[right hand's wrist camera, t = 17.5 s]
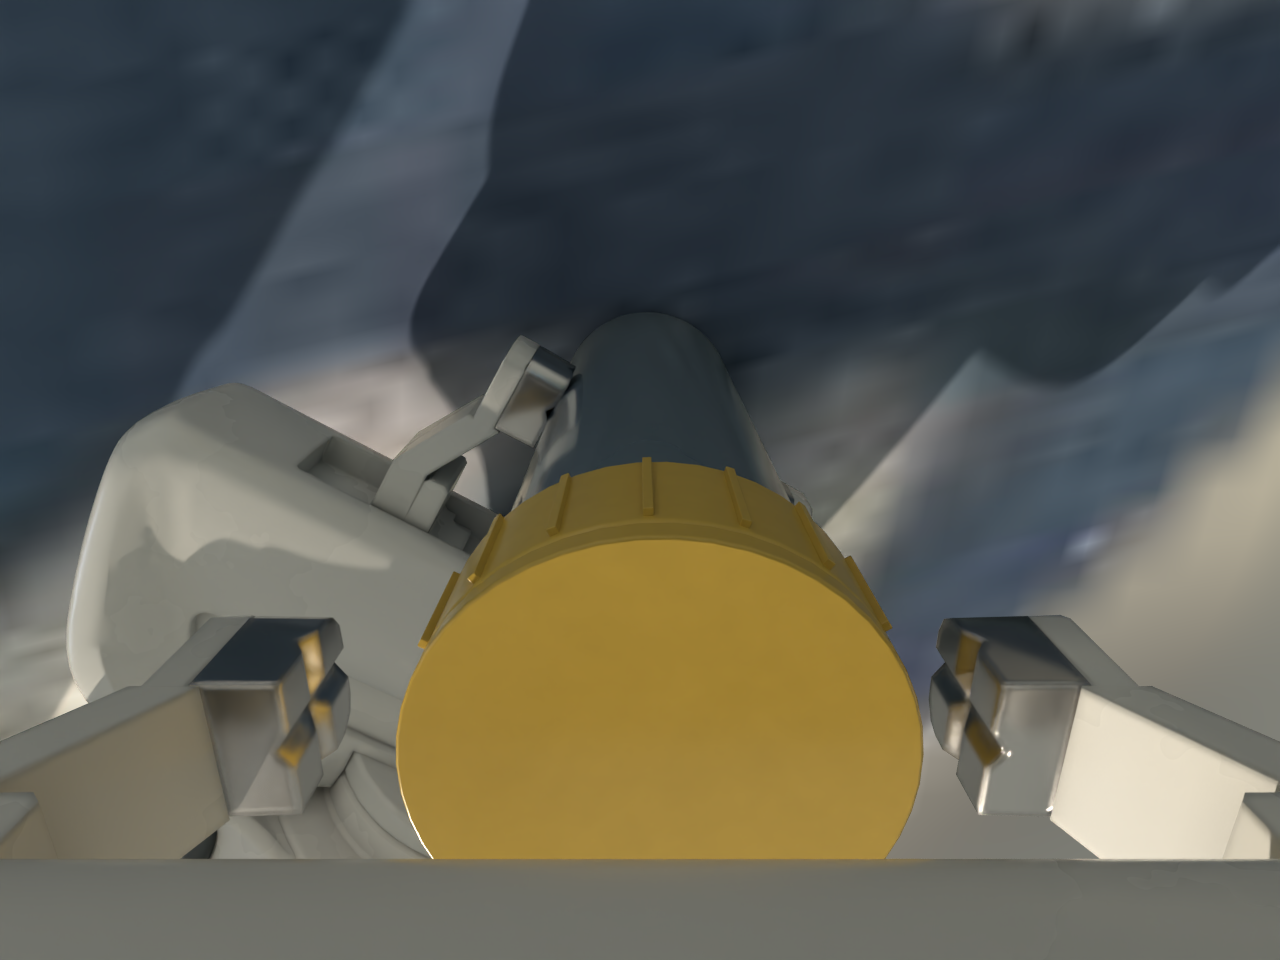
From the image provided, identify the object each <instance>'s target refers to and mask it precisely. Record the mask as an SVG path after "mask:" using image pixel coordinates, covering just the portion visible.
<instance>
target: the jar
mask: <svg viewBox="0 0 1280 960" xmlns="http://www.w3.org/2000/svg"><path fill="white" fill-rule="evenodd" d="M570 363H571V364H573V365H574V366H576V369H575V371H574V372H573V373H574V374H573V376H572V379H571V381H570V383H569V385H568V387H567V389H566V390H565V392H564V394H563V396H562V398H561V399H560V401H559V402H558V403H557V404H556V406H555V407H553V408H552V410H551V412H550V415H549V417H548V420H547V422H546V425H545V427H544V430H543V432H542V435H541V437H540V440H539V442H538V445H537V447H536V450H535V452H534V455H533V457H532V460H531V462H530V465H529V467H528V470H527V472H526V474H525V477H524V479H523V482H522V484H521V487H520V489H519V492H518V494H517V497H516V499H515V502H514V504H513V507H512V509H511V511H512V510H514V509H515V508H516V507H518V506H519V505H520V504H521V503H523V502H524V501H526V500H527V499H529V498H531V497H532V496H534V495H536V494H538V493H539V492H541V491H543V490H545V489H546V488H548V487H550V486H552V485H554V484H557V483H559V481H560V477H561V476H562V475H564V474H567V473H569V474H570V476H571V477H574V476H576V475H579V474H583V473H586V472H590V471H593V470H597V469H601V468H604V467H609V466H616V465H623V464H630V463H637V462H642V458H643V457H651V460H652V462H674V463H683V464H693V465H700V466H704V467H709V468H713V469H717V470H722V471H725V468H726V467H730V468H733V469H735V472H736V475H737V476H740V477H743V478H745V479H748V480H751V481H753V482H756V483H758V484H760V485H762V486H764V487H765V488H767V489H769V490H771V491H773V492H775V493H777V494H779V495H781V496H782V497H784V498H785V499H786V500H788V501H789V502H790V500H789V498H788V495H787V493H786V491H785V489H784V487H783V485H782V483H781V481H780V479H779V477H778V475H777V473H776V471H775V469H774V466H773V464H772V462H771V460H770V458H769V456H768V454H767V452H766V450H765V448H764V446H763V444H762V442H761V440H760V438H759V435H758V433H757V431H756V429H755V427H754V425H753V423H752V421H751V419H750V417H749V415H748V413H747V411H746V409H745V407H744V404H743V402H742V400H741V398H740V396H739V394H738V392H737V390H736V388H735V386H734V384H733V382H732V380H731V378H730V375H729V373H728V371H727V369H726V367H725V365H724V363H723V361H722V359H721V357H720V355H719V353H718V351H717V350H716V348H715V347H714V346H713V344H712V343H711V342H710V341H709V340H708V338H707V337H706V336H705V335H704V334H703V333H701V332H700V331H699V330H698V329H697V328H695V327H694V326H692V325H690V324H689V323H687V322H685V321H683V320H681V319H679V318H676V317H673V316H670V315H667V314H661V313H655V312H640V313H632V314H628V315H624V316H620V317H618V318H615V319H613V320H610V321H608V322H607V323H605V324H603V325H601V326H600V327H599V328H597V329H596V330H595V331H593V332H592V333H591V334H590V335H589V336H588V337H587V338H586V339H585V340H584V341H583V342H582V344H581V345H580V346H579V348H578V349H577V351H576V352H575V354H574V356H573V358H572V360H571V362H570Z"/></svg>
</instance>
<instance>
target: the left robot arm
mask: <svg viewBox="0 0 1280 960" xmlns="http://www.w3.org/2000/svg"><path fill="white" fill-rule="evenodd" d="M575 369H576V366H574V365H573V364H571V363H569V362H568V361H566V360H564V359H562V358H561V357H559V356H557V355H556V354H554V353H552V352H550V351H549V350H547V349H545V348H544V347H542V346H539V344H538V343H536V342H534V341H532V340H530V339H528V338H526V337H524V336H522V335H520V336H519V337H518V338H517V340H516V341H515V342H514V343H513V345H512V347H511V348H510V350H509V352H508V353H507V355H506V357H505V358H504V360H503V362H502V363H501V365H500V367H499V369H498V371H497V373H496V375H495V377H494V379H493V381H492V383H491V385H490V386H489V388H488V390H487V392H486V394H485V395H484V394H483V395H481V396H480V397H478V398H476V399H475V400H473V401H471V402H469V403H468V404H466V405H464V406H463V407H461V408H459V409H457V410H456V411H454V412H452V413H450V414H449V415H447V416H445V417H444V418H442V419H440V420H438V421H437V422H435V423H433V424H432V425H430V426H428V427H426V428H425V429H423V430H421V431H419V432H418V433H417V434H416V435H415V437H414V438H413V439H412V440H411V441H410V442H409V443H408V444H407V445H406V446H405V447H404V449H403V450H402V451H401V452H400V453H399V454H398V455H397V456H396V457H395V458H394V460H392V459H390V458H388V457H386V456H384V455H382V454H380V453H378V452H376V451H374V450H372V449H370V448H368V447H367V446H365V445H363V444H361V443H359V442H357V441H355V440H353V439H351V438H349V437H347V436H345V435H343V434H341V433H339V432H337V431H335V430H334V429H332V428H330V427H328V426H326V425H324V424H322V423H320V422H318V421H316V420H314V419H312V418H310V417H308V416H306V415H304V414H302V413H301V412H299V411H297V410H295V409H293V408H291V407H289V406H287V405H285V404H283V403H281V402H279V401H277V400H275V399H274V398H272V397H270V396H268V395H266V394H264V393H262V392H260V391H258V390H256V389H254V388H252V387H250V386H247V385H244V384H240V383H228V384H224V385H221V386H217V387H214V388H211V389H208V390H204V391H201V392H198V393H195V394H192V395H189V396H187V397H184V398H182V399H179V400H176V401H174V402H172V403H170V404H168V405H166V406H164V407H162V408H160V409H158V410H156V411H154V412H152V413H151V414H149V415H147V416H146V417H144V418H143V419H141V420H140V421H138V422H137V423H136V424H134V425H133V426H132V427H131V428H130V429H129V430H128V431H127V432H126V433H125V434H124V435H123V436H122V437H121V439H120V440H119V441H118V443H117V445H116V446H115V448H114V450H113V452H112V455H111V457H110V459H109V461H108V464H107V466H106V469H105V471H104V474H103V477H102V480H101V482H100V485H99V488H98V491H97V494H96V497H95V501H94V504H93V507H92V510H91V514H90V517H89V520H88V524H87V528H86V532H85V535H84V539H83V543H82V547H81V551H80V556H79V560H78V564H77V569H76V573H75V578H74V584H73V589H72V594H71V599H70V605H69V611H68V617H67V628H66V651H67V658H68V663H69V667H70V670H71V673H72V676H73V679H74V681H75V683H76V685H77V687H78V689H79V690H80V692H81V693H82V695H83V696H84V698H85V699H86V701H87V702H88V703H91V702H93V701H95V700H97V699H100V698H102V697H104V696H107V695H109V694H111V693H114V692H116V691H118V690H121V689H123V688H125V687H127V686H142V685H143V684H144V683H145V682H146V681H147V680H148V679H149V678H150V677H151V676H152V675H153V674H154V673H155V672H156V671H157V670H158V669H159V668H160V667H161V666H162V665H163V664H164V663H165V662H166V661H167V660H168V659H169V658H170V657H171V656H172V655H173V654H174V653H175V652H176V651H177V650H178V649H179V648H180V647H181V646H182V645H183V644H184V643H185V642H186V641H188V640H189V639H190V638H191V637H192V636H193V635H194V634H195V633H196V632H197V631H198V630H199V629H200V628H201V627H202V626H203V625H204V624H205V623H206V622H207V621H208V620H209V619H210V618H211V617H218V616H243V615H254V616H256V617H257V616H286V617H333V618H334V619H335V620H336V621H337V623H338V624H339V625H340V629H341V635H342V640H343V645H344V648H343V650H342V651H341V653H340V654H339V656H338V658H337V659H336V661H335V663H336V664H337V665H338V666H339V667H340V668H341V669H342V670H343V671H344V673H345V674H346V675H347V676H348V677H349V684H350V691H351V712H350V716H349V721H348V725H347V729H346V733H345V735H344V737H343V739H342V741H341V743H340V745H339V747H338V749H337V750H336V751H334V752H333V753H331V754H330V755H328V756H327V757H325V758H324V759H322V760H321V761H322V767H323V773H324V775H323V777H322V779H321V781H320V782H319V784H318V786H317V788H316V790H315V792H314V793H313V795H312V797H311V799H310V801H309V803H308V804H307V806H306V808H305V810H304V812H303V813H302V814H301V815H266V816H231V817H229V818H230V820H229V821H228V822H227V823H225V824H224V825H223V826H222V827H220V828H219V829H218V830H216V831H215V832H214V833H213V834H211V835H210V836H209V837H207V838H206V839H205V840H204V841H202V842H201V843H200V844H198V845H197V846H196V847H195V848H193V849H192V850H191V851H189V852H188V853H187V854H186V855H184V856H183V857H182V858H180V859H432V858H431V857H430V855H429V854H428V852H427V851H426V849H425V848H424V846H423V845H422V843H421V841H420V839H419V837H418V835H417V833H416V831H415V829H414V827H413V826H412V824H411V822H410V820H409V817H408V813H407V810H406V807H405V804H404V801H403V798H402V795H401V791H400V785H399V779H398V773H397V767H396V733H397V726H398V720H399V714H400V708H401V705H402V702H403V699H404V696H405V693H406V690H407V687H408V684H409V681H410V678H411V676H412V674H413V672H414V670H415V668H416V666H417V664H418V662H419V660H420V657H421V655H422V653H423V651H424V649H423V648H420V647H418V643H419V641H420V639H421V637H422V635H423V633H424V631H425V629H426V627H427V625H428V623H429V620H430V618H431V616H432V614H433V612H434V610H435V608H436V606H437V604H438V602H439V600H440V598H441V596H442V594H443V592H444V590H445V588H446V586H447V584H448V582H449V579H450V577H451V575H452V573H453V572H454V571H455V572H457V573H459V574H460V573H461V571H462V569H463V567H464V565H465V563H466V561H467V560H468V558H469V557H470V555H471V554H472V553H473V551H474V550H475V549H476V547H477V546H478V544H479V543H480V542H481V540H482V539H483V538H484V537H485V536H486V535H487V533H488V531H489V528H490V526H491V524H492V522H493V519H494V518H495V517H496V516H497V515H498V514H496V513H495V512H493V511H491V510H489V509H487V508H485V507H483V506H481V505H479V504H477V503H475V502H473V501H471V500H469V499H467V498H465V497H463V496H462V495H460V494H458V493H456V492H454V491H453V489H454V487H455V485H456V484H457V482H458V480H459V478H460V476H461V474H462V472H463V470H464V468H465V466H466V464H467V461H466V458H465V457H463V456H462V454H464V453H466V452H467V451H469V450H471V449H472V448H474V447H476V446H477V445H479V444H481V443H482V442H484V441H486V440H488V439H489V438H491V437H493V436H494V435H496V434H498V433H499V432H500V431H501V432H503V433H505V434H507V435H509V436H511V437H513V438H515V439H517V440H519V441H521V442H523V443H525V444H527V445H529V446H531V447H534V446H535V444H536V442H537V440H538V439H539V437H540V435H541V433H542V432H543V430H544V427H545V425H546V422H547V420H548V417H549V415H550V412H551V410H552V408H553V407H555V406H556V404H557V403H558V402H559V401H560V399H561V398H562V396H563V394H564V392H565V390H566V389H567V387H568V385H569V383H570V381H571V379H572V376H573V374H574V373H573V372H574V371H575ZM781 483H782V485H783V487H784V489H785V491H786V493H787V495H788V498H789V500H790V502H791V503H792V504H793V505H796V504H797V503H798V502H801V503H802V504H804V505H805V506H806V508H807V510H808V512H809V514H810V516H812V509H811V507H810V505H809V503H808V501H807V500H806V498H805V496H804V494H803V493H801V492H800V491H798V490H796V489H794V488H792V487H791V486H789V485H787V484H785V483H784V482H782V481H781Z"/></svg>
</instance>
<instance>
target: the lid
mask: <svg viewBox="0 0 1280 960" xmlns="http://www.w3.org/2000/svg"><path fill="white" fill-rule="evenodd" d="M890 629H892V626H891V624H890V623H889V621H888V619H887V617H886V616H885V614H884V612H883V610H882V609H881V607H880V605H879V604H878V602H877V600H876V598H875V597H874V595H873V593H872V591H871V590H870V588H869V586H868V584H867V583H866V581H865V579H864V578H863V576H862V574H861V572H860V571H859V569H858V567H857V565H856V564H855V562H854V560H853V559H852V557H851V556H848V557H847V558H845V559H844V557H843V555H842V554H841V552H840V551H839V549H838V548H837V547H836V546H835V544H834V543H833V542H832V540H831V539H830V538H829V537H828V535H827V534H826V533H825V532H824V531H823V530H822V529H821V528H820V527H819V526H818V525H817V524H816V523H815V522H814V521H813V520H812V518H811V516H810V514H809V512H808V510H807V508H806V506H805V505H804V504H802V503H801V502H798V503H797V504H796V505H793V504H792V503H791V502H789V501H788V500H786V499H785V498H784V497H782V496H781V495H779V494H777V493H775V492H773V491H771V490H769V489H767V488H765V487H764V486H762V485H760V484H758V483H756V482H753V481H751V480H748V479H745V478H743V477H740V476H737V475H736V472H735V469H733V468H730V467H726V468H725V471H722V470H717V469H713V468H709V467H704V466H700V465H693V464H683V463H674V462H652V460H651V457H643V458H642V462H637V463H630V464H623V465H616V466H609V467H604V468H601V469H597V470H593V471H590V472H586V473H583V474H579V475H576V476H574V477H571V476H570V474H569V473H567V474H564V475H562V476H561V477H560V481H559V483H557V484H554V485H552V486H550V487H548V488H546V489H545V490H543V491H541V492H539V493H538V494H536V495H534V496H532V497H531V498H529V499H527V500H526V501H524V502H523V503H521V504H520V505H519V506H518V507H516V508H515V509H514V510H512V511H511V512H510V513H509V514H507V515H506V516H505V517H503V516H502V515H501V514H498V515H497V516H496V517H495V518H494V519H493V522H492V524H491V526H490V528H489V531H488V533H487V535H486V536H485V537H484V538H483V539H482V540H481V542H480V543H479V544H478V546H477V547H476V549H475V550H474V551H473V553H472V554H471V555H470V557H469V558H468V560H467V561H466V563H465V565H464V567H463V569H462V571H461V573H460V574H459V573H457V572H455V571H454V572H453V573H452V575H451V577H450V579H449V582H448V584H447V586H446V588H445V590H444V592H443V594H442V596H441V598H440V600H439V602H438V604H437V606H436V608H435V610H434V612H433V614H432V616H431V618H430V620H429V623H428V625H427V627H426V629H425V631H424V633H423V635H422V637H421V639H420V641H419V643H418V647H420V648H423V649H424V651H423V653H422V655H421V657H420V660H419V662H418V664H417V666H416V668H415V670H414V672H413V674H412V676H411V678H410V681H409V684H408V687H407V690H406V693H405V696H404V699H403V702H402V705H401V708H400V714H399V720H398V726H397V733H396V767H397V773H398V779H399V785H400V791H401V795H402V798H403V801H404V804H405V807H406V810H407V813H408V817H409V820H410V822H411V824H412V826H413V827H414V829H415V831H416V833H417V835H418V837H419V839H420V841H421V843H422V845H423V846H424V848H425V849H426V851H427V852H428V854H429V855H430V857H431V858H432V859H885V858H886V857H887V855H888V854H889V852H890V851H891V849H892V848H893V846H894V844H895V843H896V841H897V840H898V838H899V837H900V835H901V833H902V831H903V829H904V826H905V824H906V822H907V820H908V818H909V816H910V814H911V811H912V808H913V805H914V802H915V798H916V795H917V791H918V788H919V785H920V777H921V770H922V762H923V726H922V721H921V716H920V711H919V706H918V701H917V697H916V694H915V691H914V689H913V686H912V683H911V681H910V678H909V675H908V673H907V670H906V668H905V666H904V665H903V663H902V661H901V659H900V657H899V656H898V654H897V652H896V650H895V648H894V647H893V645H892V643H891V641H890V639H889V638H888V636H887V634H886V631H888V630H890Z"/></svg>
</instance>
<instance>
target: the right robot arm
mask: <svg viewBox="0 0 1280 960" xmlns="http://www.w3.org/2000/svg"><path fill="white" fill-rule="evenodd" d="M343 648H344V645H343V640H342V635H341V629H340V625H339V624H338V623H337V621H336V620H335V619H334V618H333V617H286V616H257V617H256V616H254V615H243V616H218V617H211V618H210V619H209V620H208V621H207V622H206V623H205V624H204V625H203V626H202V627H201V628H200V629H199V630H198V631H197V632H196V633H195V634H194V635H193V636H192V637H191V638H190V639H189V640H188V641H186V642H185V643H184V644H183V645H182V646H181V647H180V648H179V649H178V650H177V651H176V652H175V653H174V654H173V655H172V656H171V657H170V658H169V659H168V660H167V661H166V662H165V663H164V664H163V665H162V666H161V667H160V668H159V669H158V670H157V671H156V672H155V673H154V674H153V675H152V676H151V677H150V678H149V679H148V680H147V681H146V682H145V683H144V684H143V685H142V686H127V687H125V688H123V689H121V690H118V691H116V692H114V693H111V694H109V695H107V696H104V697H102V698H100V699H97V700H95V701H93V702H91V703H88V704H86V705H84V706H81V707H79V708H77V709H74V710H72V711H70V712H67V713H65V714H63V715H60V716H58V717H56V718H54V719H51V720H49V721H47V722H44V723H42V724H40V725H37V726H35V727H33V728H30V729H28V730H26V731H24V732H21V733H19V734H17V735H14V736H12V737H10V738H7V739H5V740H3V741H0V960H1280V742H1279V741H1277V740H1275V739H1272V738H1270V737H1268V736H1265V735H1263V734H1261V733H1258V732H1256V731H1254V730H1252V729H1249V728H1247V727H1245V726H1242V725H1240V724H1238V723H1235V722H1233V721H1231V720H1229V719H1226V718H1224V717H1222V716H1219V715H1217V714H1215V713H1212V712H1210V711H1208V710H1205V709H1203V708H1201V707H1199V706H1196V705H1194V704H1192V703H1189V702H1187V701H1185V700H1182V699H1180V698H1178V697H1176V696H1173V695H1171V694H1169V693H1166V692H1164V691H1162V690H1159V689H1157V688H1155V687H1153V686H1138V685H1137V684H1136V683H1135V682H1134V681H1133V680H1132V679H1131V678H1130V677H1129V676H1128V675H1127V674H1126V673H1125V672H1124V671H1123V670H1122V669H1121V668H1120V667H1119V666H1118V665H1117V664H1116V663H1115V662H1114V661H1113V660H1112V659H1111V658H1110V657H1109V656H1108V655H1107V654H1106V653H1105V652H1104V651H1103V650H1102V649H1101V648H1100V647H1099V646H1098V645H1097V644H1096V643H1095V642H1094V641H1093V640H1092V639H1091V638H1090V637H1089V636H1088V635H1087V634H1086V633H1085V632H1084V631H1083V630H1082V629H1081V628H1079V627H1078V626H1077V625H1076V624H1075V623H1074V622H1073V621H1072V620H1071V619H1070V618H1067V617H1064V616H1062V615H1049V616H1015V617H974V618H949V619H944V620H943V622H942V625H941V627H940V629H939V633H938V639H937V645H936V648H937V650H938V651H939V653H940V654H941V656H942V658H943V659H944V661H945V663H944V664H943V665H942V666H941V667H940V668H939V669H938V670H937V672H936V673H935V674H934V675H933V676H932V677H931V685H930V693H929V706H930V717H931V723H932V726H933V729H934V732H935V736H936V738H937V740H938V741H939V743H940V745H941V747H942V749H943V750H944V751H946V752H947V753H949V754H950V755H952V756H953V757H955V758H956V759H958V760H959V761H958V767H957V773H956V775H957V777H958V779H959V781H960V782H961V784H962V786H963V788H964V790H965V791H966V793H967V795H968V797H969V799H970V801H971V802H972V804H973V806H974V808H975V810H976V811H977V813H978V814H979V815H1012V816H1049V817H1051V818H1050V820H1051V821H1052V822H1054V823H1055V824H1056V825H1058V826H1059V827H1060V828H1061V829H1063V830H1064V831H1065V832H1066V833H1068V834H1069V835H1070V836H1072V837H1073V838H1074V839H1076V840H1077V841H1078V842H1079V843H1081V844H1082V845H1083V846H1085V847H1086V848H1087V849H1088V850H1090V851H1091V852H1092V853H1093V854H1095V855H1096V856H1097V857H1099V858H1100V859H180V858H182V857H183V856H184V855H186V854H187V853H188V852H189V851H191V850H192V849H193V848H195V847H196V846H197V845H198V844H200V843H201V842H202V841H204V840H205V839H206V838H207V837H209V836H210V835H211V834H213V833H214V832H215V831H216V830H218V829H219V828H220V827H222V826H223V825H224V824H225V823H227V822H228V821H229V820H230V818H229V817H231V816H266V815H301V814H302V813H303V812H304V810H305V808H306V806H307V804H308V803H309V801H310V799H311V797H312V795H313V793H314V792H315V790H316V788H317V786H318V784H319V782H320V781H321V779H322V777H323V775H324V773H323V767H322V761H321V760H322V759H324V758H325V757H327V756H328V755H330V754H331V753H333V752H334V751H336V750H337V749H338V747H339V745H340V743H341V741H342V739H343V737H344V735H345V733H346V729H347V725H348V721H349V716H350V712H351V691H350V684H349V677H348V676H347V675H346V674H345V673H344V671H343V670H342V669H341V668H340V667H339V666H338V665H337V664H336V663H335V661H336V659H337V658H338V656H339V654H340V653H341V651H342V650H343Z"/></svg>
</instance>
